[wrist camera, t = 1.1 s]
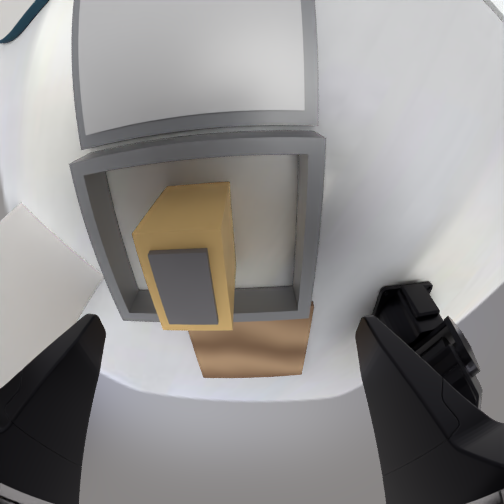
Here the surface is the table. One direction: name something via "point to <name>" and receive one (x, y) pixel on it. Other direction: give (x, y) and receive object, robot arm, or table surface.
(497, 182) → the table surface
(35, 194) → the table surface
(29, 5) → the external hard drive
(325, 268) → the table surface
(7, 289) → the milk
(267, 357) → the walnut board
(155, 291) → the ochre module
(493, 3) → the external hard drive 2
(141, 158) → the equipment case
